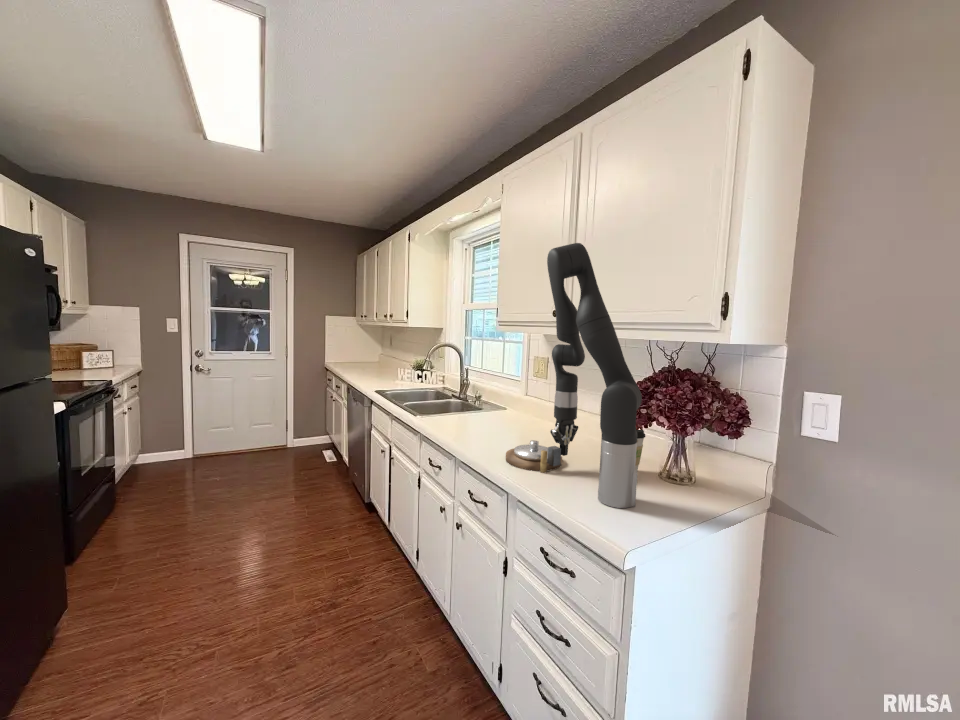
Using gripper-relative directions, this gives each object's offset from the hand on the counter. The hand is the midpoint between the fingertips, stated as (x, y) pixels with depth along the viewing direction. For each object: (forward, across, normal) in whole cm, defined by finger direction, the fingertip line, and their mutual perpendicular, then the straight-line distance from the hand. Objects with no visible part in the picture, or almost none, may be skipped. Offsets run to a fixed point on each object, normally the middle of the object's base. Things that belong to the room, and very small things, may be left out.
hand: (563, 454), depth 132 cm
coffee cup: (+6, -16, +15) cm, 22 cm away
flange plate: (+3, +2, -9) cm, 10 cm away
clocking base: (+5, +2, -12) cm, 13 cm away
